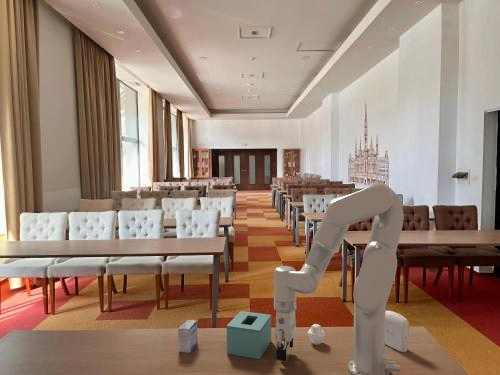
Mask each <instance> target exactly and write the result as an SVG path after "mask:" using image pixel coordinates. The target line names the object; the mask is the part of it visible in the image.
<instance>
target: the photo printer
mask: <svg viewBox="0 0 500 375" xmlns="http://www.w3.org/2000/svg"><path fill="white" fill-rule="evenodd" d="M409 333H410V322H409V320H408V319H407V318H406V317H405V316H403V315H402V314H400V313H398V312H396V311H393V310H386V313H385V345H386V346H388V347H390V348H392V349H395V350H396V351H398V352H401V353H406V352H407V351H408V349H409V336H410V335H409Z"/></svg>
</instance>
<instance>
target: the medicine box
mask: <svg viewBox="0 0 500 375" xmlns="http://www.w3.org/2000/svg"><path fill="white" fill-rule="evenodd" d="M177 335H178V336H177V338H178V340H177V341H178V352H179V353H189V354H191V352H192V351H193V349H194V348H195V346H196V345H197V344H198V320H196V319H195V320H194V319H186V320H184V322H183V323H182V324H181V325H180V326H179V327H178V328H177Z"/></svg>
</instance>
